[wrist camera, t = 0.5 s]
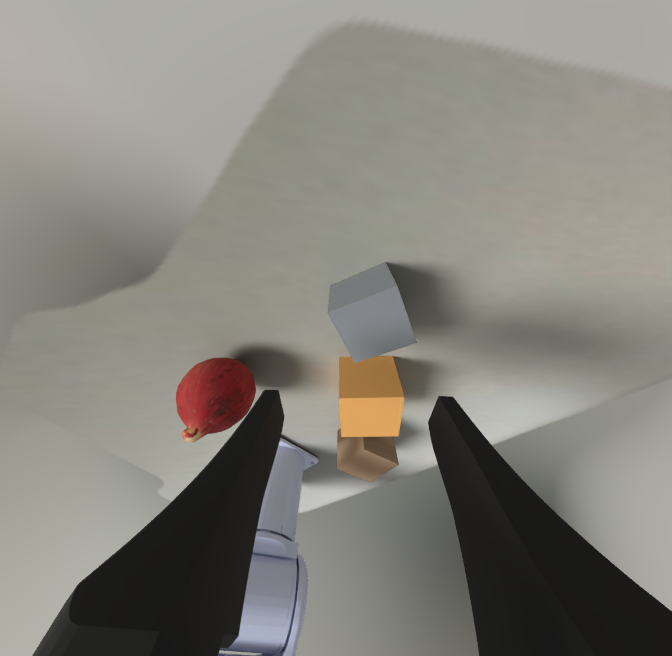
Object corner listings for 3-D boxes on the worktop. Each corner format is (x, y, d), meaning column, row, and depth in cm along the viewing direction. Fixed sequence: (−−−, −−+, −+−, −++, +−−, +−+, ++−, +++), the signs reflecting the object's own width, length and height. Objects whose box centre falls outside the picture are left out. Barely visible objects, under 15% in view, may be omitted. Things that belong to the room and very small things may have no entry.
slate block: (352, 329, 21) (354, 363, 17) (330, 285, 19) (327, 313, 15) (402, 310, 20) (416, 342, 16) (385, 261, 18) (397, 285, 14)
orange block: (341, 393, 25) (341, 436, 21) (339, 356, 23) (338, 398, 18) (388, 392, 25) (398, 436, 21) (392, 355, 22) (404, 397, 18)
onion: (242, 330, 21) (195, 403, 14) (276, 375, 24) (251, 453, 17) (191, 351, 22) (127, 426, 16) (229, 390, 25) (188, 468, 19)
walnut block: (366, 443, 30) (370, 482, 26) (337, 430, 29) (337, 469, 25) (391, 425, 28) (398, 464, 24) (360, 410, 27) (364, 449, 23)
